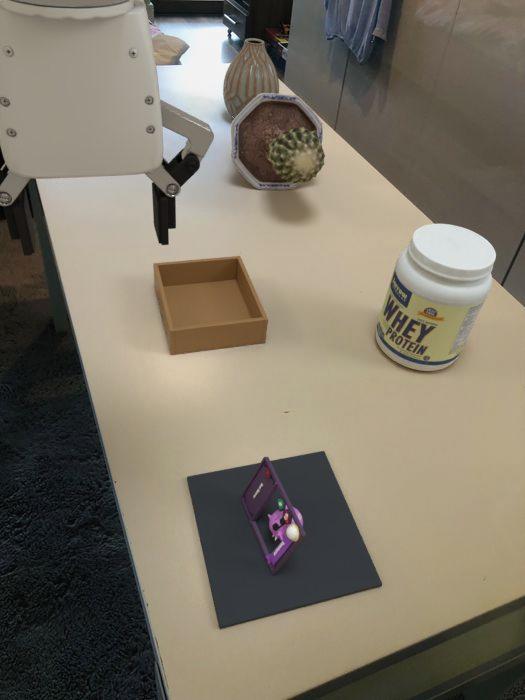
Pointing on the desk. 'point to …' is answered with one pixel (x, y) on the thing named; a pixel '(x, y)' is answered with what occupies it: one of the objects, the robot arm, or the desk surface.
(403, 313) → the supplement tub
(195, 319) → the box
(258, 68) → the vase
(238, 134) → the potted plant
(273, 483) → the purple toy figure
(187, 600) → the desk surface
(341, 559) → the mat
